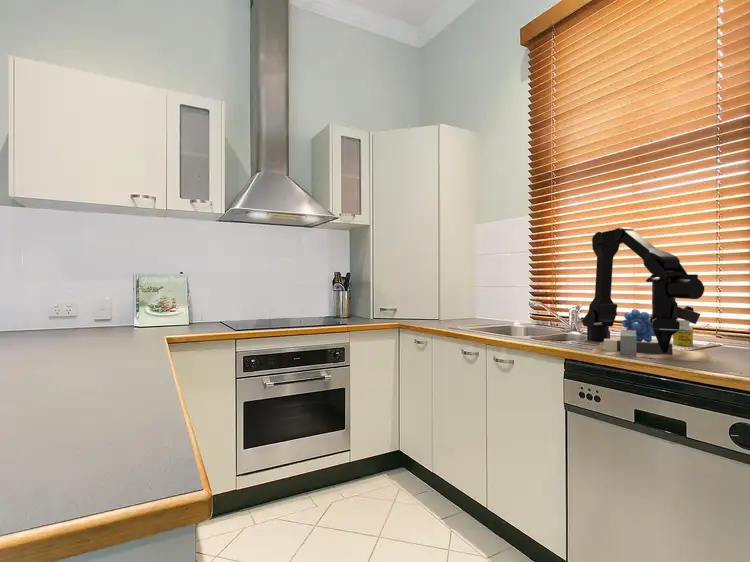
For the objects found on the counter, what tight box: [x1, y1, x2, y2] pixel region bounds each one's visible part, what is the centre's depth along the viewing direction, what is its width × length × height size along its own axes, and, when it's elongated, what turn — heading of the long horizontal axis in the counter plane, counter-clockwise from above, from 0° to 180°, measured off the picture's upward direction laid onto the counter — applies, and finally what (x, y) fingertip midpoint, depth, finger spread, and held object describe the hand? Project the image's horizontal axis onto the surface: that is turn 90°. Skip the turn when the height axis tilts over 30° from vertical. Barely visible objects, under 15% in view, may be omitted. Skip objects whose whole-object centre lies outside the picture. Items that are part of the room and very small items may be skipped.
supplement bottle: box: [672, 318, 694, 347], centre depth 141 cm, size 5×5×10 cm
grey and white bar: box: [599, 338, 673, 355], centre depth 129 cm, size 19×4×3 cm, turn 59°
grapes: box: [621, 308, 656, 342], centre depth 155 cm, size 12×7×12 cm, turn 38°
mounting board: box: [591, 344, 717, 364], centre depth 127 cm, size 30×18×1 cm, turn 59°
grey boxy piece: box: [619, 329, 636, 357], centre depth 130 cm, size 4×16×6 cm, turn 149°
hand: (663, 350), depth 125 cm, fingers open, 9 cm apart
